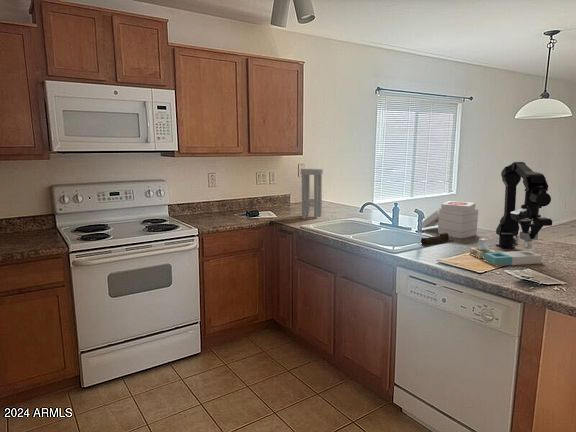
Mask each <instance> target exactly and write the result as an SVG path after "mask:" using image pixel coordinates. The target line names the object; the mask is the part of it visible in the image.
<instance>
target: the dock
mask: <svg viewBox="0 0 576 432" xmlns="http://www.w3.org/2000/svg"><path fill="white" fill-rule="evenodd" d="M542 259H543V255H542V254H540V253H536V252H533V251H531V250H518V251H516V250H514V251H499V252H498V251H496V252H494V253H484V258H483V260H486V261H488V262H490V263H492V264H494V265H500V266H513V265H514V266H517V265H530V264H531V265H534V264H542V262H543V261H542ZM488 262H487V263H488ZM490 263H489V264H490ZM492 264H491V265H492ZM494 265H493V266H494Z"/></svg>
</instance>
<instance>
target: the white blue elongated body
mask: <svg viewBox="0 0 576 432" xmlns="http://www.w3.org/2000/svg"><path fill="white" fill-rule="evenodd" d="M517 240H518V239H517V236H514V237H513V245H516V244H517Z"/></svg>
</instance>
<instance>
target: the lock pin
mask: <svg viewBox="0 0 576 432" xmlns="http://www.w3.org/2000/svg"><path fill="white" fill-rule="evenodd" d="M477 243H478V245H477V247H478V250H480V251H488V248H489V239H488V238H478V241H477Z"/></svg>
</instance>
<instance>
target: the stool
mask: <svg viewBox="0 0 576 432" xmlns="http://www.w3.org/2000/svg"><path fill="white" fill-rule="evenodd" d="M300 175H301V218H302V219H303V218H304V219H305V218H306V217H307V216H310V214H311V207H312V208H313V214H314V215H313V216H314V217H313V218H314V219H319V217H322V214H323V213H322V196H323V195H322V192H323V191H322V187H323V185H322V181H323V180H322V177H323V176H322V175H324V168H322V167H302V168H300ZM310 176H313V198H311V197H310V196H311V195H310V194H311V193H310V190H311V189H310V184H311V183H310V181H311V180H310V179H311V178H310Z"/></svg>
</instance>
